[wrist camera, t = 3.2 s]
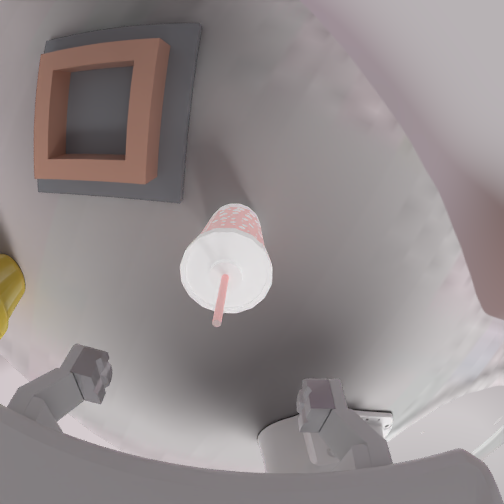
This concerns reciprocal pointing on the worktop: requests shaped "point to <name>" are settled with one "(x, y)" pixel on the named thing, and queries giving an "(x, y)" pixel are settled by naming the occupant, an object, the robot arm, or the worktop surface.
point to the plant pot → (9, 289)
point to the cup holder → (116, 112)
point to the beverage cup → (228, 263)
